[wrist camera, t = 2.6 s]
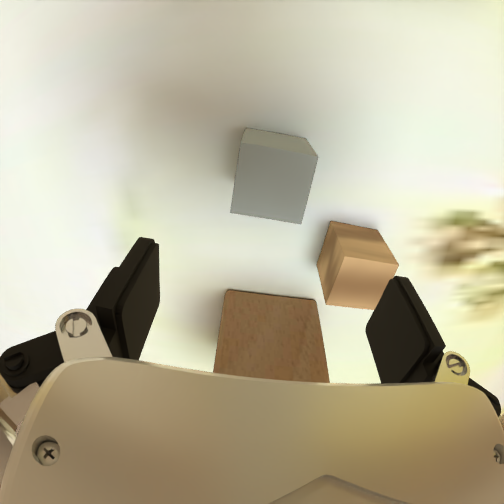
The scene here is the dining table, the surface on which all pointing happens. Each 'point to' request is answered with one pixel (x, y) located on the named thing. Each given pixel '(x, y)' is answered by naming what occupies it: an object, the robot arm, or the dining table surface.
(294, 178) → the slate block
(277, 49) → the dining table surface
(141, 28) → the dining table surface
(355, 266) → the oak block
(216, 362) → the wooden block
